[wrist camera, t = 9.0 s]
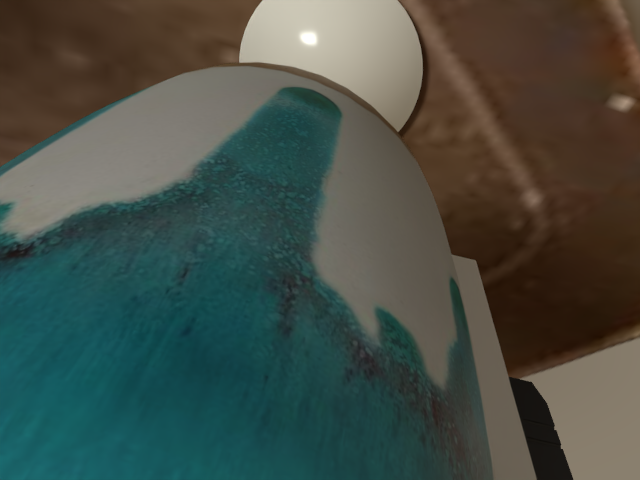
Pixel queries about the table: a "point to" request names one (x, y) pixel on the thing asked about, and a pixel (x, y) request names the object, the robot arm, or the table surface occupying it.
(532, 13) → the table surface
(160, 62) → the table surface
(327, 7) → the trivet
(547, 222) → the table surface
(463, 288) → the robot arm
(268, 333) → the vase
